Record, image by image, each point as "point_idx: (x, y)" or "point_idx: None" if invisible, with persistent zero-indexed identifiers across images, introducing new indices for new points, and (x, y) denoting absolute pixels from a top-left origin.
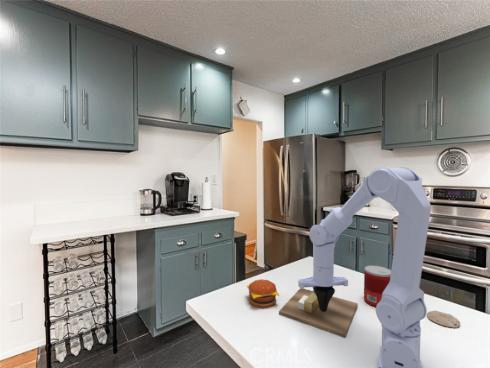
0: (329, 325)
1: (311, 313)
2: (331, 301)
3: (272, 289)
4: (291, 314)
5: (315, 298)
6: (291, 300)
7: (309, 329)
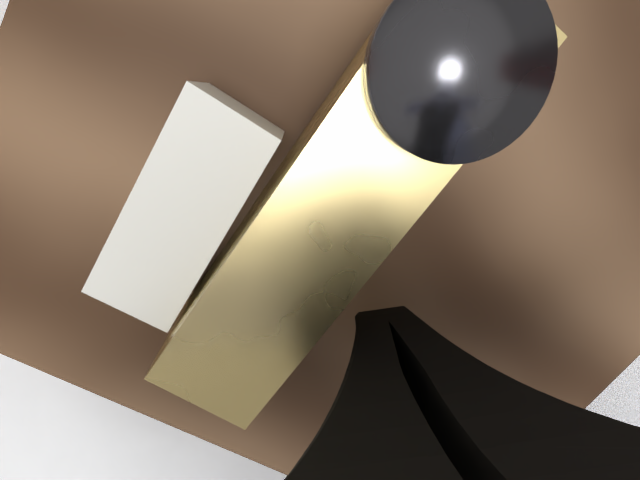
0: None
1: None
2: (587, 77)
3: None
4: (48, 358)
5: (332, 307)
6: (29, 54)
7: (213, 462)
